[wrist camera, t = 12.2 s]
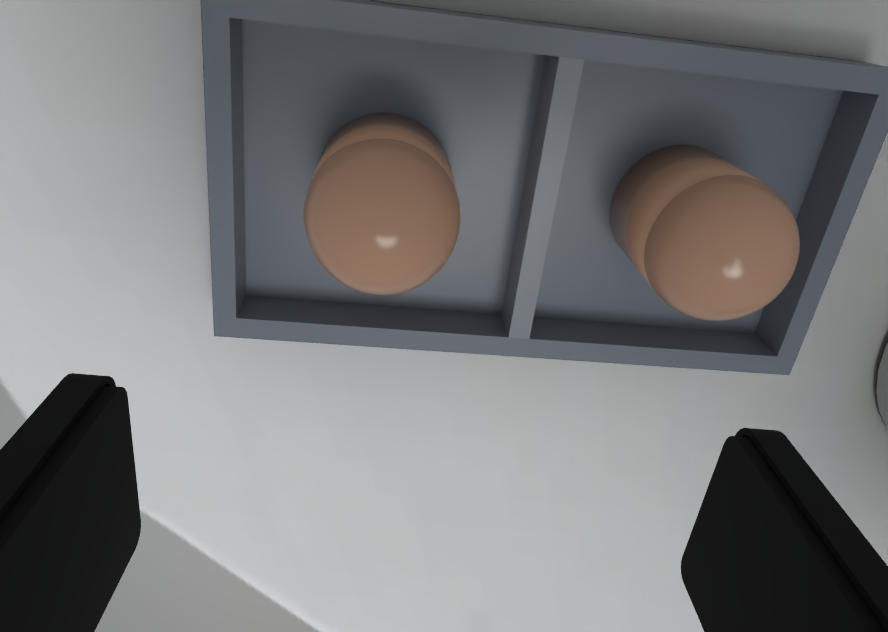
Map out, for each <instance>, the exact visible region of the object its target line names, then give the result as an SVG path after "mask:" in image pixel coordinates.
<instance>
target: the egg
mask: <svg viewBox="0 0 888 632" xmlns="http://www.w3.org/2000/svg"><path fill="white" fill-rule="evenodd" d="M303 218H304V227H305V233H306V237H307V240H308V243H309V246H310V248H311V250H312V252H313V254H314V256H315V257H316V259H317V260H318V262H319V263H320V264H321V265H322V267H323V268H324V269H325V270H326V271H327V272H328V273H329V274H330V275H331V276H332V277H333V278H335V279H336V280H337V281H339V282H340V283H342V284H344V285H345V286H347V287H349V288H352V289H354V290H357V291H360V292H363V293H367V294H374V295H392V294H399V293H403V292H407V291H409V290H412V289H415V288H417V287H419V286H421V285H422V284H424V283H425V282H427V281H428V280H430V279H431V278H432V277H433V276H434V275H436V274H437V273H438V272H439V271H440V270H441V268H442V267H443V266H444V265H445V264H446V262H447V261H448V259H449V258H450V256H451V254H452V252H453V250H454V248H455V245H456V242H457V239H458V236H459V231H460V223H461V212H460V203H459V198H458V194H457V190H456V186H455V182H454V178H453V174H452V170H451V166H450V163H449V160H448V157H447V154H446V152H445V150H444V148H443V146H442V145H441V143H440V142H439V140H438V139H437V138H436V137H435V135H434V134H433V133H432V132H431V131H430V130H428V129H427V128H426V127H425V126H424V125H422V124H420V123H419V122H417V121H415V120H413V119H411V118H409V117H406V116H403V115H400V114H394V113H372V114H367V115H363V116H361V117H358V118H355V119H353V120H352V121H350V122H348V123H346V124H345V125H344V126H342V127H341V128H340V129H339V130H338V131H337V132H336V133H335V134H334V135H333V136H332V137H331V139H330V140H329V141H328V143H327V145H326V146H325V148H324V150H323V153H322V155H321V157H320V160H319V162H318V165H317V167H316V170H315V172H314V175H313V177H312V179H311V182H310V184H309V187H308V190H307V193H306V197H305V202H304V211H303Z"/></svg>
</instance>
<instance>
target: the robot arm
mask: <svg viewBox="0 0 888 632" xmlns="http://www.w3.org/2000/svg"><path fill="white" fill-rule="evenodd" d="M876 393H877V400H878V406H879V412H880V414H881V416H882V418H883V421H884V423H885V425H886V427H887V429H888V343H887V345H886V347H885V350H884V353H883V356H882V360H881V363H880V366H879V369H878V379H877V390H876ZM140 529H141V519H140V510H139V500H138V491H137V481H136V472H135V462H134V453H133V444H132V434H131V425H130V415H129V406H128V397H127V392H126V390H125V388H123V387H116V385H115V382H114V380H113V378H111V377H110V376H98V375H86V374H73V373H72V374H68V375H67V376H66V377H64V378H63V380H62V381H61V382H60V383H59V384H58V385H57V386H56V387H55V389H54V390H53V391H52V392H51V393H50V394H49V395H48V397H47V398H46V399H45V400H44V401H43V402H42V403H41V404H40V406H39V407H38V408H37V409H36V410H35V411H34V412H33V414H32V415H31V416H30V417H29V418H28V419H27V420H26V422H25V423H24V424H23V425H22V426H21V427H20V428H19V429H18V431H17V432H16V433H15V434H14V435H13V436H12V437H11V438H10V440H9V441H8V442H7V443H6V444H5V445H4V446H3V448H2V449H1V450H0V632H94V631H95V629H96V627H97V625H98V623H99V621H100V619H101V617H102V615H103V613H104V611H105V609H106V607H107V605H108V603H109V601H110V599H111V597H112V595H113V593H114V591H115V589H116V587H117V585H118V583H119V581H120V579H121V577H122V575H123V573H124V571H125V569H126V566H127V565H128V563H129V561H130V558H131V557H132V555H133V553H134V551H135V549H136V546H137V543H138V540H139V536H140ZM681 574H682V579H683V582H684V585H685V587H686V589H687V592H688V594H689V596H690V599H691V601H692V603H693V606H694V608H695V610H696V613H697V615H698V617H699V620H700V622H701V624H702V627H703V629H704V631H705V632H888V566H887V565H886V563H885V562H884V561H883V560H882V558H881V557H880V556H879V555H878V553H877V552H876V551H875V549H874V548H873V547H872V546H871V544H870V543H869V542H868V541H867V539H866V538H865V537H864V535H863V534H862V533H861V532H860V530H859V529H858V528H857V527H856V525H855V524H854V523H853V521H852V520H851V519H850V518H849V516H848V515H847V514H846V513H845V511H844V510H843V509H842V507H841V506H840V505H839V504H838V502H837V501H836V500H835V498H834V497H833V496H832V495H831V493H830V492H829V491H828V490H827V488H826V487H825V486H824V484H823V483H822V482H821V481H820V479H819V478H818V477H817V476H816V474H815V473H814V472H813V470H812V469H811V468H810V467H809V465H808V464H807V463H806V462H805V460H804V459H803V458H802V456H801V455H800V454H799V453H798V451H797V450H796V449H795V448H794V446H793V445H792V444H791V442H790V441H789V440H788V439H787V437H786V436H785V435H784V434H783V433H782V432H780V431H775V430H763V429H751V428H743V429H740V430H739V431H738V432H737V433H736V435H735V436H730V437H728V438H727V439H726V441H725V443H724V445H723V448H722V451H721V454H720V456H719V459H718V462H717V464H716V467H715V470H714V473H713V475H712V478H711V481H710V483H709V486H708V489H707V492H706V494H705V497H704V500H703V502H702V505H701V508H700V511H699V513H698V516H697V519H696V522H695V524H694V527H693V530H692V532H691V535H690V538H689V541H688V543H687V546H686V549H685V551H684V554H683V557H682V561H681Z"/></svg>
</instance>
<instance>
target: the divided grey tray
mask: <svg viewBox="0 0 888 632" xmlns="http://www.w3.org/2000/svg"><path fill="white" fill-rule="evenodd" d="M201 20H202V45H203V70H204V95H205V121H206V146H207V171H208V196H209V222H210V247H211V272H212V297H213V323H214V336H221V337H236V338H251V339H266V340H280V341H295V342H310V343H325V344H339V345H354V346H369V347H383V348H398V349H413V350H428V351H442V352H457V353H472V354H487V355H501V356H516V357H531V358H546V359H560V360H575V361H590V362H605V363H619V364H634V365H649V366H663V367H678V368H693V369H708V370H722V371H737V372H752V373H767V374H781V375H790V372H791V370H792V367H793V365H794V362H795V360H796V357H797V355H798V352H799V350H800V347H801V345H802V342H803V340H804V337H805V335H806V333H807V330H808V328H809V325H810V323H811V320H812V318H813V315H814V313H815V310H816V308H817V305H818V303H819V300H820V298H821V295H822V293H823V290H824V288H825V285H826V283H827V281H828V278H829V276H830V273H831V271H832V268H833V266H834V263H835V261H836V258H837V256H838V253H839V251H840V248H841V246H842V243H843V241H844V238H845V236H846V233H847V231H848V228H849V226H850V224H851V221H852V219H853V216H854V214H855V211H856V209H857V206H858V204H859V201H860V199H861V196H862V194H863V191H864V189H865V186H866V184H867V181H868V179H869V176H870V174H871V172H872V169H873V167H874V164H875V162H876V159H877V157H878V154H879V152H880V149H881V147H882V144H883V142H884V139H885V137H886V134H887V132H888V67H885V66H880V65H876V64H871V63H866V62H859V61H851V60H843V59H835V58H827V57H819V56H811V55H803V54H795V53H787V52H779V51H771V50H763V49H754V48H746V47H738V46H730V45H722V44H714V43H706V42H698V41H690V40H682V39H674V38H666V37H658V36H650V35H642V34H634V33H626V32H618V31H610V30H602V29H594V28H585V27H577V26H569V25H561V24H553V23H545V22H537V21H529V20H521V19H513V18H505V17H497V16H489V15H481V14H473V13H465V12H457V11H449V10H441V9H433V8H424V7H416V6H408V5H400V4H392V3H384V2H376V1H368V0H201ZM372 113H394V114H400V115H403V116H406V117H409V118H411V119H413V120H415V121H417V122H419V123H420V124H422V125H424V126H425V127H426V128H427V129H428V130H430V131H431V132H432V133H433V134H434V135H435V137H436V138H437V139H438V140H439V142H440V143H441V145H442V146H443V148H444V150H445V152H446V154H447V157H448V160H449V163H450V166H451V170H452V174H453V178H454V182H455V186H456V190H457V194H458V198H459V203H460V212H461V223H460V231H459V236H458V239H457V242H456V245H455V248H454V250H453V252H452V254H451V256H450V258H449V259H448V261H447V262H446V264H445V265H444V266H443V267H442V268H441V270H440V271H439V272H438V273H437V274H436V275H434V276H433V277H432V278H431V279H430V280H428V281H427V282H425V283H424V284H422V285H421V286H419V287H417V288H415V289H412V290H409V291H407V292H403V293H399V294H392V295H374V294H367V293H363V292H360V291H357V290H354V289H352V288H349V287H347V286H345V285H344V284H342V283H340V282H339V281H337V280H336V279H335V278H333V277H332V276H331V275H330V274H329V273H328V272H327V271H326V270H325V269H324V268H323V267H322V265H321V264H320V263H319V262H318V260H317V259H316V257H315V256H314V254H313V252H312V250H311V248H310V246H309V243H308V240H307V237H306V233H305V227H304V218H303V211H304V202H305V197H306V193H307V190H308V187H309V184H310V182H311V179H312V177H313V175H314V172H315V170H316V167H317V165H318V162H319V160H320V157H321V155H322V153H323V150H324V148H325V146H326V145H327V143H328V141H329V140H330V139H331V137H332V136H333V135H334V134H335V133H336V132H337V131H338V130H339V129H340V128H341V127H342V126H344V125H345V124H346V123H348V122H350V121H352V120H353V119H355V118H358V117H361V116H363V115H367V114H372ZM672 145H694V146H699V147H702V148H705V149H707V150H709V151H711V152H713V153H715V154H716V155H718V156H720V157H721V158H723V159H725V160H726V161H728V162H730V163H731V164H733V165H735V166H737V167H738V168H740V169H742V170H743V171H745V172H747V173H748V174H750V175H752V176H753V177H755V178H757V179H758V180H760V181H762V182H764V183H765V184H767V185H768V186H769V187H771V188H772V189H773V190H775V191H776V192H777V193H778V194H779V195H780V196H781V197H782V198H783V199H784V201H785V202H786V203H787V205H788V206H789V208H790V209H791V211H792V213H793V215H794V217H795V220H796V223H797V226H798V230H799V238H800V251H799V257H798V261H797V264H796V268H795V270H794V273H793V275H792V277H791V279H790V281H789V282H788V284H787V285H786V287H785V288H784V289H783V291H782V292H781V293H780V294H779V295H778V296H777V297H776V298H775V299H774V300H773V301H771V302H770V303H769V304H768V305H766V306H765V307H763V308H762V309H760V310H758V311H756V312H754V313H752V314H750V315H747V316H744V317H741V318H736V319H732V320H724V321H711V320H702V319H698V318H694V317H691V316H688V315H685V314H683V313H681V312H679V311H677V310H676V309H674V308H672V307H671V306H669V305H668V304H667V303H666V302H665V301H663V300H662V299H661V298H660V297H659V296H658V295H657V293H656V292H655V291H654V290H653V288H652V287H651V286H650V285H649V283H648V282H647V281H646V280H645V278H644V277H643V276H642V275H641V273H640V272H639V271H638V270H637V268H636V267H635V266H634V265H633V263H632V262H631V261H630V260H629V258H628V257H627V256H626V255H625V253H624V252H623V251H622V250H621V248H620V247H619V246H618V244H617V242H616V241H615V239H614V236H613V234H612V230H611V226H610V207H611V202H612V198H613V195H614V193H615V190H616V188H617V186H618V184H619V183H620V181H621V179H622V178H623V177H624V175H625V174H626V173H627V171H628V170H629V169H630V168H631V167H632V166H633V165H634V164H635V163H637V162H638V161H639V160H640V159H642V158H643V157H645V156H646V155H648V154H650V153H652V152H654V151H656V150H658V149H661V148H664V147H668V146H672Z"/></svg>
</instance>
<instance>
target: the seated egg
mask: <svg viewBox="0 0 888 632" xmlns="http://www.w3.org/2000/svg"><path fill="white" fill-rule="evenodd" d="M610 226H611V230H612V234H613V236H614V239H615V241H616V242H617V244H618V246H619V247H620V248H621V250H622V251H623V252H624V253H625V255H626V256H627V257H628V258H629V260H630V261H631V262H632V263H633V265H634V266H635V267H636V268H637V270H638V271H639V272H640V273H641V275H642V276H643V277H644V278H645V280H646V281H647V282H648V283H649V285H650V286H651V287H652V288H653V290H654V291H655V292H656V293H657V295H658V296H659V297H660V298H661V299H662V300H663V301H665V302H666V303H667V304H668V305H669V306H671V307H672V308H674V309H676V310H677V311H679V312H681V313H683V314H685V315H688V316H691V317H694V318H698V319H702V320H711V321H724V320H732V319H736V318H741V317H744V316H747V315H750V314H752V313H754V312H756V311H758V310H760V309H762V308H763V307H765V306H766V305H768V304H769V303H770V302H771V301H773V300H774V299H775V298H776V297H777V296H778V295H779V294H780V293H781V292H782V291H783V289H784V288H785V287H786V285H787V284H788V282H789V281H790V279H791V277H792V275H793V273H794V270H795V268H796V264H797V261H798V257H799V251H800V238H799V230H798V226H797V223H796V220H795V217H794V215H793V213H792V211H791V209H790V208H789V206H788V205H787V203H786V202H785V201H784V199H783V198H782V197H781V196H780V195H779V194H778V193H777V192H776V191H775V190H773V189H772V188H771V187H769V186H768V185H767V184H765V183H764V182H762V181H760V180H758V179H757V178H755V177H753V176H752V175H750V174H748V173H747V172H745V171H743V170H742V169H740V168H738V167H737V166H735V165H733V164H731V163H730V162H728V161H726V160H725V159H723V158H721V157H720V156H718V155H716V154H715V153H713V152H711V151H709V150H707V149H705V148H702V147H699V146H694V145H672V146H668V147H664V148H661V149H658V150H656V151H654V152H652V153H650V154H648V155H646V156H645V157H643V158H642V159H640V160H639V161H638V162H637V163H635V164H634V165H633V166H632V167H631V168H630V169H629V170H628V171H627V173H626V174H625V175H624V177H623V178H622V179H621V181H620V183H619V184H618V186H617V188H616V190H615V193H614V195H613V198H612V202H611V207H610Z"/></svg>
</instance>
